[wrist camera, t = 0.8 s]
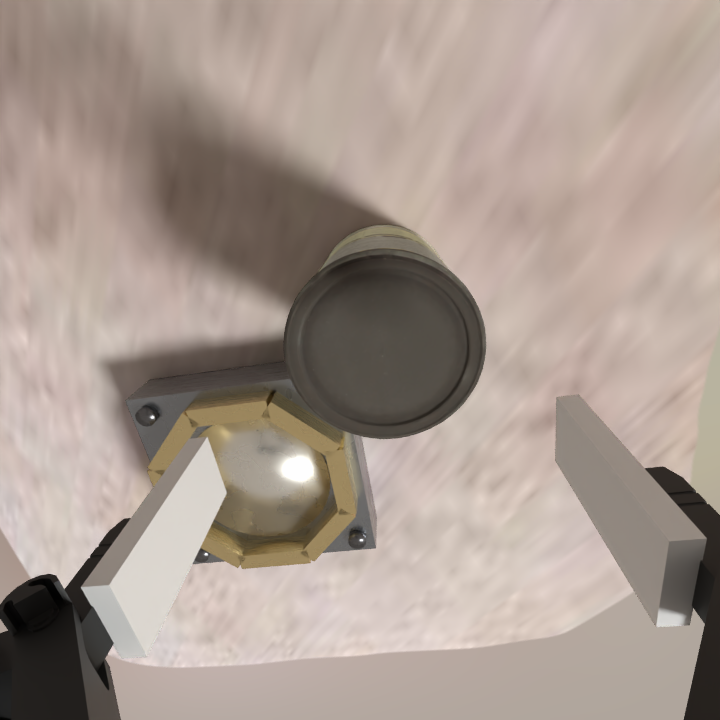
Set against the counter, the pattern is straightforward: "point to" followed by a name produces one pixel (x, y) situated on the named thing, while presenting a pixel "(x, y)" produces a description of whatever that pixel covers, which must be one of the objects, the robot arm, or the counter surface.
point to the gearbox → (262, 465)
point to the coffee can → (384, 336)
